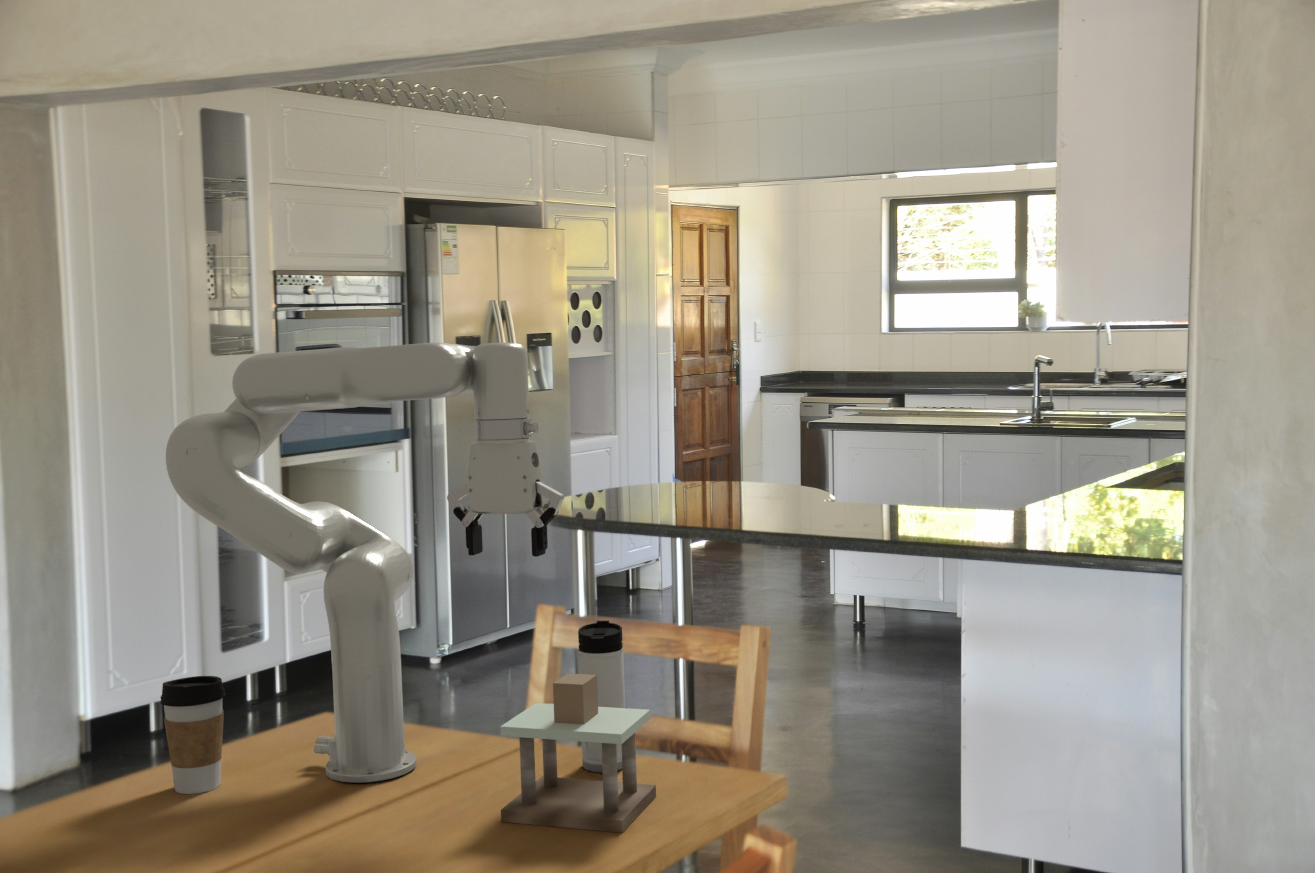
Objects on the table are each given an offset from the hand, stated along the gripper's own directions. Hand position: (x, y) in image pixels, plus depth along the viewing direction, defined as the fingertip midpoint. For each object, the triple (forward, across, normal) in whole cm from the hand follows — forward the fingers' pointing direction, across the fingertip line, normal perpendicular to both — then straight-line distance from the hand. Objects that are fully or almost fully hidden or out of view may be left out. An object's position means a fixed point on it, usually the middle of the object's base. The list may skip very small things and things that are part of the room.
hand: (507, 554), depth 174 cm
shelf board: (+20, -15, +13) cm, 28 cm away
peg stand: (+30, -15, +13) cm, 36 cm away
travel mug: (+31, -12, -4) cm, 33 cm away
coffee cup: (+31, +40, +17) cm, 53 cm away
